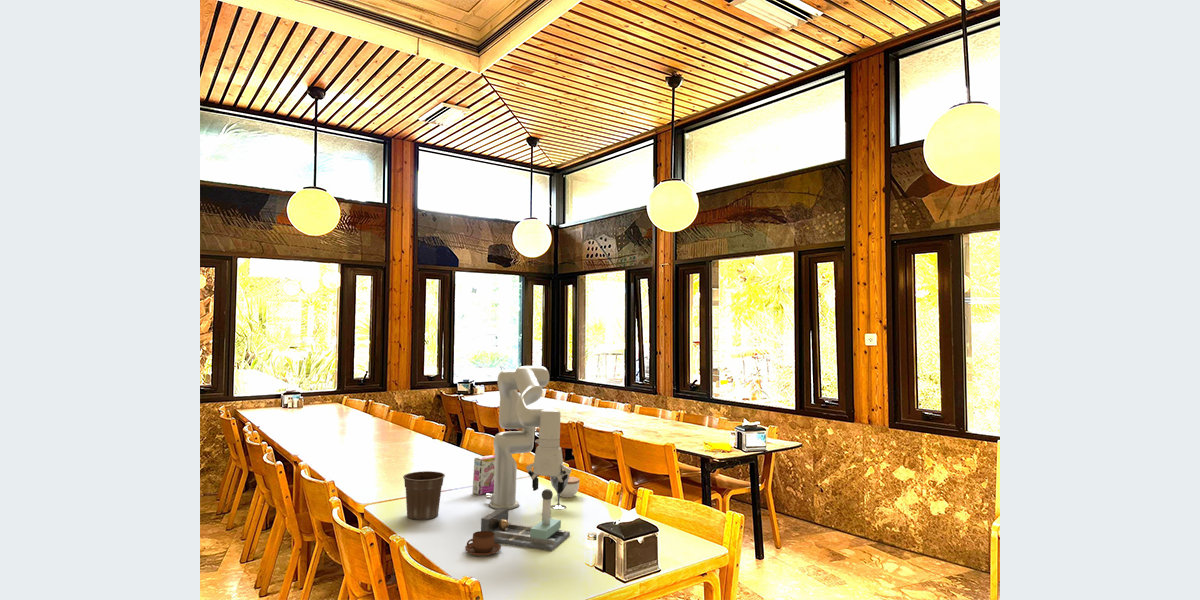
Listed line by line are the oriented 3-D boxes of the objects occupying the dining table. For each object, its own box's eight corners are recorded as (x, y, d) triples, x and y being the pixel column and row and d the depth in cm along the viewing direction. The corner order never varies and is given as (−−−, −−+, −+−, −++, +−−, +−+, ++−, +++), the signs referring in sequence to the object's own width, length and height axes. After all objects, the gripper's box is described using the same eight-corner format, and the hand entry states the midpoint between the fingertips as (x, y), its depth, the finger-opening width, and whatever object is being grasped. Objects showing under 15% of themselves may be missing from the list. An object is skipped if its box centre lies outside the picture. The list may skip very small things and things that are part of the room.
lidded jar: (583, 495, 290) (584, 475, 291) (570, 500, 281) (570, 479, 282) (564, 491, 296) (565, 471, 296) (551, 496, 287) (551, 475, 287)
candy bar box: (479, 495, 283) (481, 459, 284) (472, 493, 286) (473, 457, 287) (497, 491, 292) (498, 456, 293) (489, 489, 295) (491, 454, 296)
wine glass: (570, 505, 272) (571, 471, 273) (563, 510, 264) (564, 474, 265) (553, 503, 275) (554, 469, 275) (546, 508, 267) (547, 472, 268)
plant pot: (393, 515, 250) (395, 474, 251) (428, 507, 261) (430, 469, 262) (414, 524, 239) (417, 482, 239) (450, 516, 250) (452, 476, 251)
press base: (479, 540, 223) (479, 519, 224) (501, 526, 240) (502, 506, 241) (551, 551, 215) (552, 529, 215) (569, 535, 232) (570, 515, 232)
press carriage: (530, 537, 219) (531, 492, 220) (545, 526, 233) (547, 484, 234) (545, 539, 218) (547, 494, 218) (560, 528, 231) (562, 485, 232)
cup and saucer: (484, 561, 203) (484, 542, 204) (457, 553, 210) (458, 535, 210) (508, 551, 214) (508, 533, 214) (481, 544, 220) (482, 526, 220)
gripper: (523, 443, 226) (521, 491, 225) (567, 446, 221) (566, 496, 219) (531, 440, 233) (530, 486, 232) (575, 443, 228) (573, 491, 226)
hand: (547, 491), depth 226 cm, fingers open, 9 cm apart
